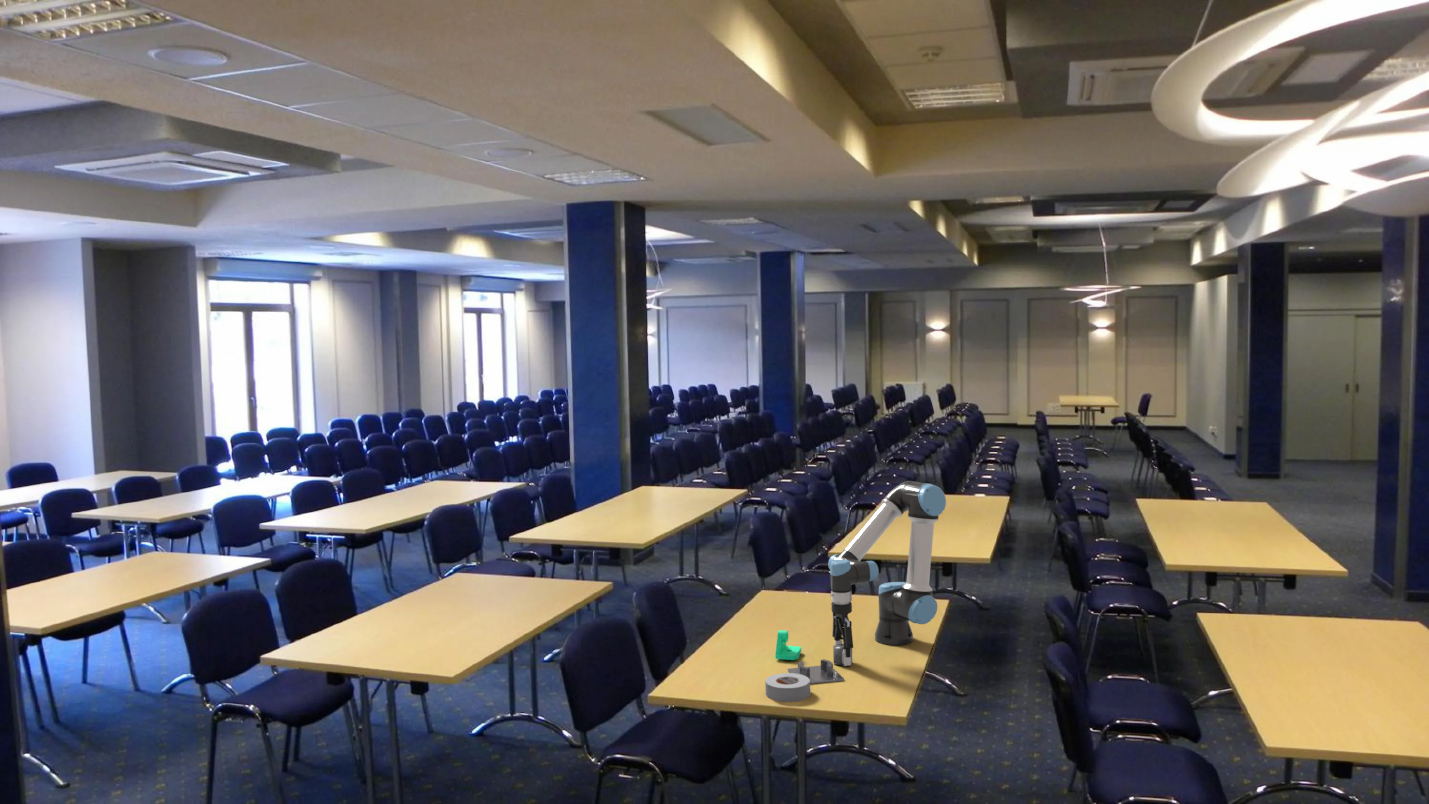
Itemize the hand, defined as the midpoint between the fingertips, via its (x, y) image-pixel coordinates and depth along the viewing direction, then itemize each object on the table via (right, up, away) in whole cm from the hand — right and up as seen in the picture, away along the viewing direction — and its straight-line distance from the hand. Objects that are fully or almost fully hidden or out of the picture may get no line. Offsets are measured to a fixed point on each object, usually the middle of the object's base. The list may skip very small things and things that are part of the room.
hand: (843, 661), depth 375 cm
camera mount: (-20, -1, +9) cm, 22 cm away
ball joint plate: (-12, -2, -13) cm, 18 cm away
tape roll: (-23, -4, -31) cm, 39 cm away
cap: (0, 0, 0) cm, 0 cm away
